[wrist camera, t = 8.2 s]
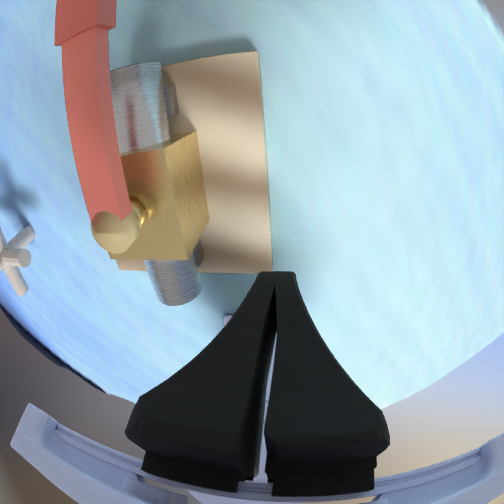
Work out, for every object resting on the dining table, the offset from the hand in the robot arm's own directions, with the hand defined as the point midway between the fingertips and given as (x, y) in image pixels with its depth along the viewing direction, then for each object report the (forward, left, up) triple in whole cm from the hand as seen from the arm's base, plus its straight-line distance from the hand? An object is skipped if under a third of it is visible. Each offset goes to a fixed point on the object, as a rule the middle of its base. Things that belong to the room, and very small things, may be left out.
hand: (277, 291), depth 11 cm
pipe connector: (-2, +29, -10) cm, 31 cm away
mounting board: (+2, +8, -10) cm, 13 cm away
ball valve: (+2, +8, -10) cm, 13 cm away
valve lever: (+8, +8, -3) cm, 12 cm away
